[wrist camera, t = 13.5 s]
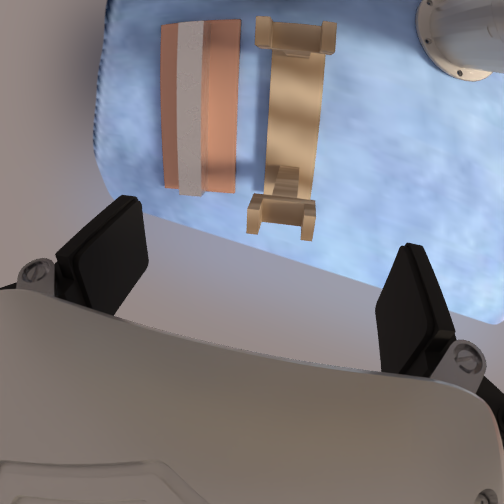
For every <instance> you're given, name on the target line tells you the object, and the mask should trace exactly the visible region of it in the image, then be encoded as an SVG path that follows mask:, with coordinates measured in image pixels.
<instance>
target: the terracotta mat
mask: <svg viewBox="0 0 504 504" xmlns="http://www.w3.org/2000/svg"><path fill="white" fill-rule="evenodd" d="M206 22H208V23H210V24H211V43H210V69H209V109H208V189H207V190H206V191H212V192H223V193H235V172H236V135H237V104H238V77H239V53H240V31H241V20H240V19H232V20H208V21H206ZM177 46H178V23H174V24H166V25H161V61H160V88H161V128H162V150H163V167H164V181H165V188H173V189H179V176H178V150H177Z"/></svg>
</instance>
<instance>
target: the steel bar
mask: <svg viewBox="0 0 504 504" xmlns="http://www.w3.org/2000/svg"><path fill="white" fill-rule="evenodd" d="M210 43H211V24H210V23H208V22H206V21H191V22H180V23H178V46H177V150H178V176H179V195H190V196H201V197H202V195H203V194H204V193H205V191H206V190H207V189H208V109H209V69H210Z"/></svg>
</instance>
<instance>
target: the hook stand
mask: <svg viewBox="0 0 504 504" xmlns="http://www.w3.org/2000/svg"><path fill="white" fill-rule="evenodd" d="M336 29H337V23H334V22H327V21H323V23H322V26H316V25H307V24H296V23H282V22H273V21H272V19H271V17H267V16H256V30H255V45H256V46H257V47H259V48H261V49H272V65H271V82H270V100H269V117H268V133H267V150H266V166H265V181H264V194H256V193H254V194H253V197H252V199H251V201H250V204H249V206H248V209H247V232H246V233H249V234H257V235H258V232H259V228H260V225H261V222H269V223H277V224H286V225H294V226H301V240H305V241H312V238H313V232H314V226H315V219H316V208H315V200H310V197H311V190H312V182H313V174H314V166H315V158H316V150H317V141H318V132H319V122H320V112H321V102H322V91H323V80H324V67H325V54H327V55H332V54H333V53H334V52H335V45H336Z"/></svg>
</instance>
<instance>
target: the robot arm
mask: <svg viewBox="0 0 504 504" xmlns="http://www.w3.org/2000/svg"><path fill="white" fill-rule="evenodd" d="M427 3H428V4H429V5H428V4H427ZM416 30H417V34H418V37H419V40H420V43H421V45H422V47H423V49H424V50H425V52H426V53H427V55H428V56H429V58H430V59H431V60H432V61H433V62H434V64H435V65H436V66H437V67H439V68H440V69H441V70H442V71H443V72H445V73H447V74H448V75H450V76H452V77H454V78H457V79H460V80H464V81H480V80H482V79H485V78H487V77H488V76H489V75H491V74H492V73H493V72H496V73H504V0H422V1H421V2H420V4H419V6H418V8H417V12H416ZM425 40H427V42H428V43H426V42H425ZM457 71H458V74H457ZM55 255H56V258H57V262H56V263H55V264H54V263H53V262H52V260H50V259H47V258H40V259H36V260H33V261H31V262H29V263H28V264H26V265H25V266H24V267H23V268H22V269H21V270H20V272H19V274H18V278H17V283H14V284H11V285H8V286H5V287H2V288H0V504H504V394H503V393H502V392H501V391H500V390H499V389H498V388H497V387H496V386H495V385H494V384H493V383H491V382H490V381H489V380H488V379H487V378H486V377H485V376H484V374H485V371H486V367H487V366H486V360H485V357H484V355H483V353H482V352H481V350H480V349H479V348H478V347H477V346H476V345H475V344H473V343H471V342H470V341H466V340H456V336H455V328H454V325H453V322H452V319H451V316H450V313H449V310H448V308H447V305H446V302H445V299H444V297H443V294H442V291H441V289H440V286H439V284H438V281H437V279H436V276H435V274H434V271H433V269H432V266H431V264H430V262H429V259H428V257H427V255H426V252H425V250H424V248H423V246H421V245H416V244H412V243H406V245H405V246H401V247H400V248H399V251H398V253H397V256H396V258H395V261H394V263H393V266H392V268H391V271H390V273H389V276H388V278H387V280H386V283H385V285H384V287H383V290H382V292H381V294H380V297H379V299H378V301H377V304H376V308H375V314H376V321H377V330H378V339H379V349H380V360H381V372H376V371H368V370H361V369H353V368H346V367H339V366H332V365H325V364H318V363H312V362H306V361H300V360H294V359H289V358H283V357H277V356H272V355H267V354H262V353H257V352H252V351H247V350H242V349H237V348H233V347H229V346H224V345H220V344H215V343H211V342H207V341H203V340H198V339H194V338H190V337H186V336H182V335H179V334H175V333H171V332H167V331H164V330H160V329H156V328H153V327H149V326H146V325H142V324H138V323H135V322H132V321H128V320H125V319H122V318H119V317H115V316H114V314H115V313H116V311H117V310H118V309H119V306H121V304H122V303H123V301H124V300H125V298H126V297H127V295H128V294H129V293H130V291H131V290H132V288H133V287H134V285H135V284H136V283H137V281H138V280H139V279H140V277H141V276H142V274H143V273H144V272H145V270H146V268H147V266H148V262H149V259H148V252H147V245H146V237H145V230H144V221H143V212H142V204H141V202H140V201H138V199H137V197H135V196H127V195H121V196H120V197H118V198H117V199H116V200H115V201H114V202H112V203H111V204H110V205H109V206H108V207H106V208H105V209H104V210H103V211H102V212H101V213H99V214H98V215H97V216H96V217H95V218H94V219H92V220H91V221H90V222H89V223H88V224H87V225H86V226H85V227H83V228H82V229H81V230H80V231H79V232H78V233H77V234H76V235H75V236H74V237H73V238H72V239H70V241H68V242H67V243H66V244H65V245H64V246H63V247H62V248H61V249H60V250H59V251H58V252H57V253H56V254H55Z"/></svg>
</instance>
